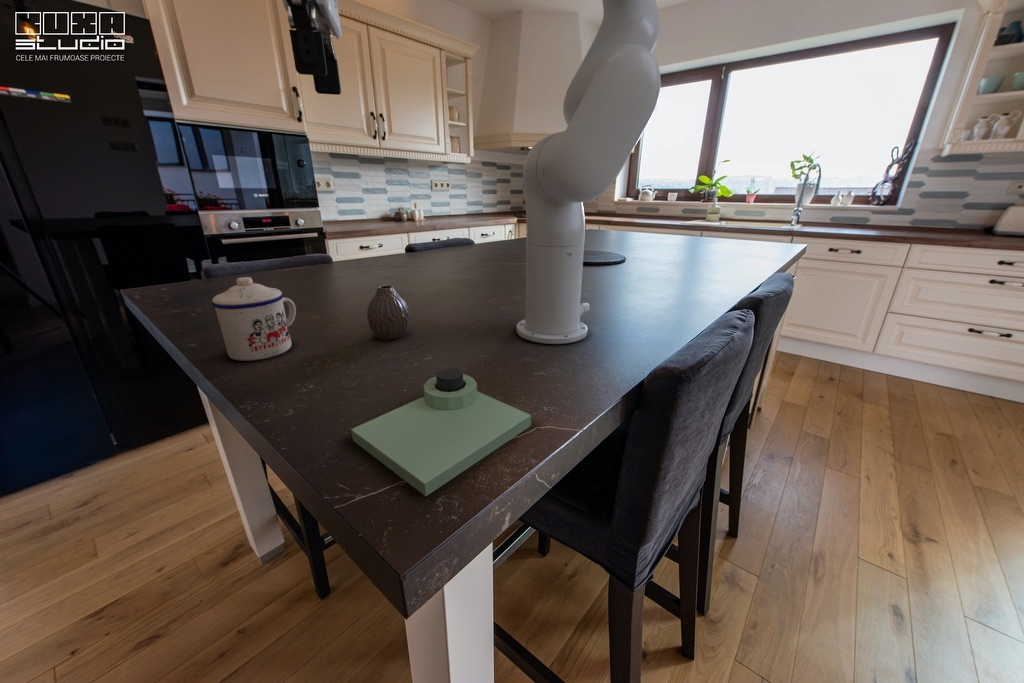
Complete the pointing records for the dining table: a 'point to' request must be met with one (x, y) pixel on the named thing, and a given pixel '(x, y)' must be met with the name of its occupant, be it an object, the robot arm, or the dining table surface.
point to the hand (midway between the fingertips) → (321, 84)
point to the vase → (388, 314)
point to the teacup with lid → (254, 320)
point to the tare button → (449, 380)
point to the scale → (440, 434)
